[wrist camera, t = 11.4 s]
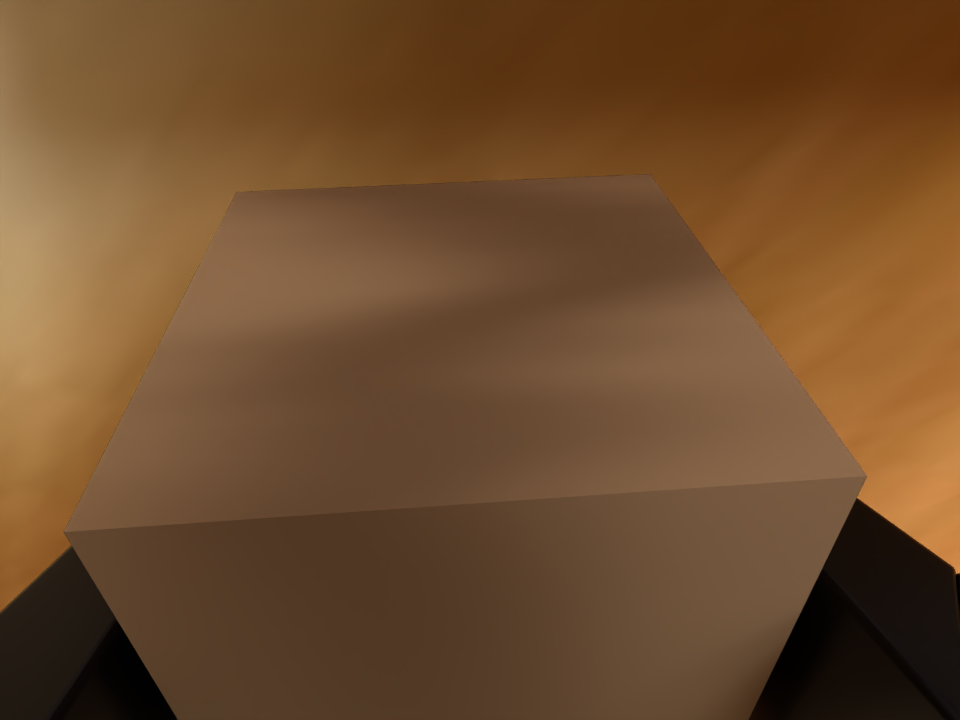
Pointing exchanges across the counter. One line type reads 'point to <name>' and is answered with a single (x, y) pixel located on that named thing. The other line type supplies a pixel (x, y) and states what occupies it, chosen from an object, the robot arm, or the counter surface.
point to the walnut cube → (463, 466)
